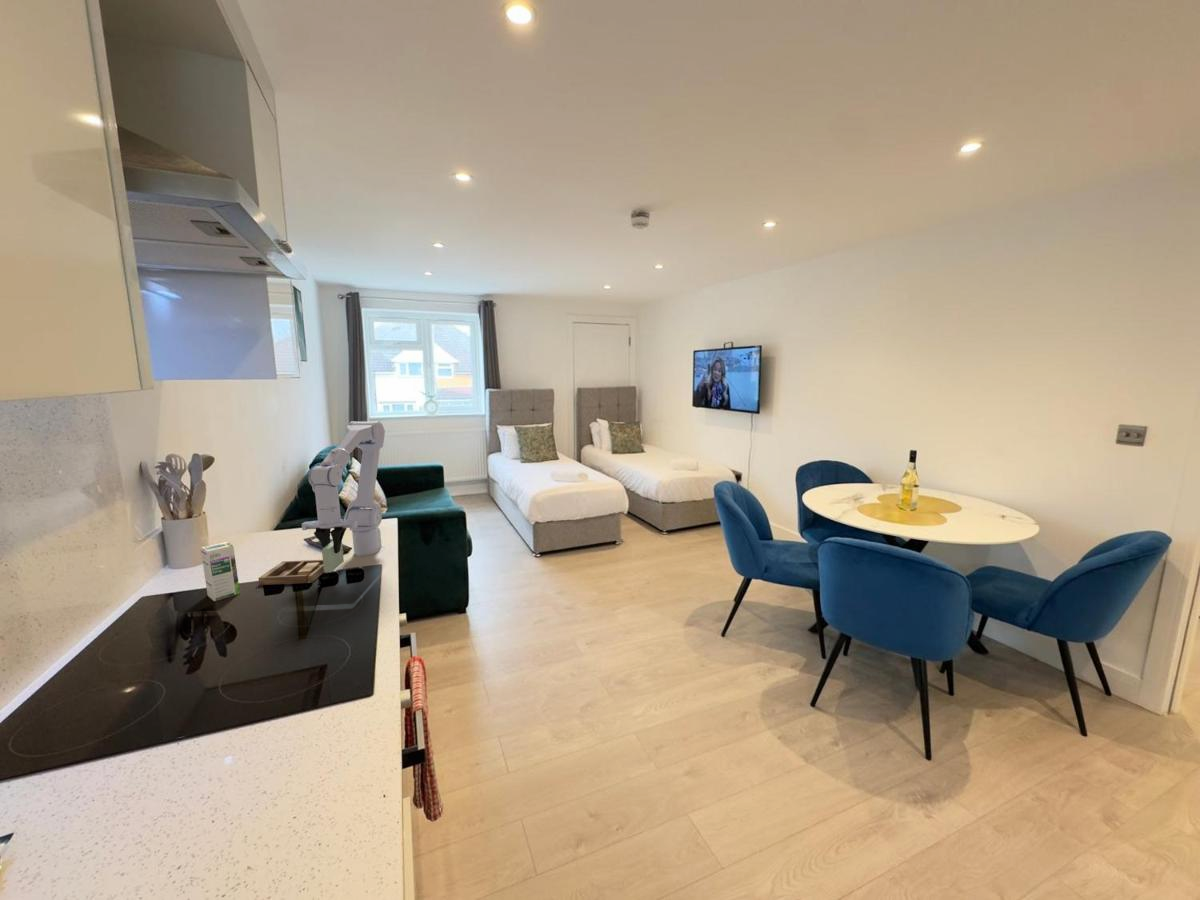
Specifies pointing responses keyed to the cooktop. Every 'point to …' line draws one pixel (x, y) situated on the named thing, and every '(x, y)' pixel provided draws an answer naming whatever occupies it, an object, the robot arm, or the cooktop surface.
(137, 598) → the cooktop surface
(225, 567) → the syrup box
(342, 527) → the robot arm
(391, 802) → the cooktop surface
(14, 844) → the cooktop surface
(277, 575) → the rack
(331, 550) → the pale green flat block
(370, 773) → the cooktop surface
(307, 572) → the offcut stack
